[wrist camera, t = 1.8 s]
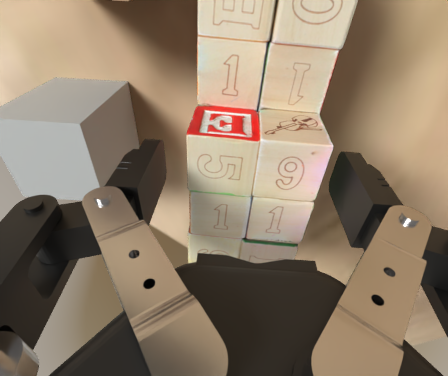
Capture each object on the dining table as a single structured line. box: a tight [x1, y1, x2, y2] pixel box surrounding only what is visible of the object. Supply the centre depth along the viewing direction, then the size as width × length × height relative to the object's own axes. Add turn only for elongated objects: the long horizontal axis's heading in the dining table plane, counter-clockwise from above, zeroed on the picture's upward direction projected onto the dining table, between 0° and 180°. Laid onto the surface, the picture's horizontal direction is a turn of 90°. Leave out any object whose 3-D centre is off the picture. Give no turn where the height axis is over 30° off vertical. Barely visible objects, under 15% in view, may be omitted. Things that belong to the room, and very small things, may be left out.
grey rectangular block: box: [0, 77, 140, 200], centre depth 21 cm, size 6×6×8 cm
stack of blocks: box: [186, 0, 358, 263], centre depth 17 cm, size 21×6×12 cm, turn 175°
